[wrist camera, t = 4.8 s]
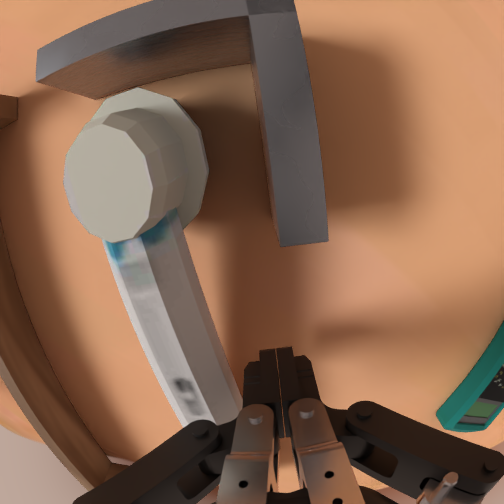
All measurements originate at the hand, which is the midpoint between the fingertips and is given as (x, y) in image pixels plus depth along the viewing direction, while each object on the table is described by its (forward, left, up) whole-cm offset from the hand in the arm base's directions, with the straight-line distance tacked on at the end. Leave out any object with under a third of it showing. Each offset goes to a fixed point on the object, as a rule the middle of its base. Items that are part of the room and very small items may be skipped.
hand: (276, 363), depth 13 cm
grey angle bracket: (+2, -11, -3) cm, 12 cm away
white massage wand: (+4, 0, -3) cm, 5 cm away
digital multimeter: (-19, +7, -3) cm, 20 cm away
